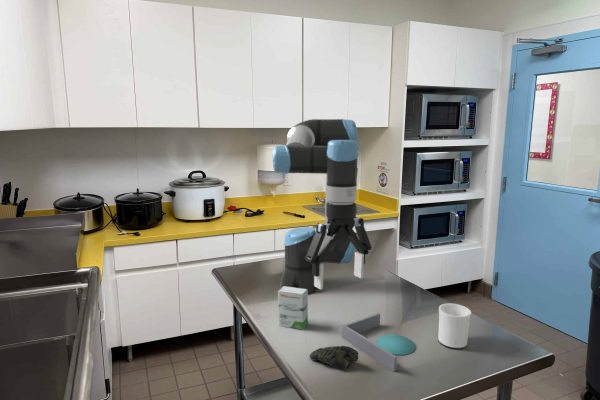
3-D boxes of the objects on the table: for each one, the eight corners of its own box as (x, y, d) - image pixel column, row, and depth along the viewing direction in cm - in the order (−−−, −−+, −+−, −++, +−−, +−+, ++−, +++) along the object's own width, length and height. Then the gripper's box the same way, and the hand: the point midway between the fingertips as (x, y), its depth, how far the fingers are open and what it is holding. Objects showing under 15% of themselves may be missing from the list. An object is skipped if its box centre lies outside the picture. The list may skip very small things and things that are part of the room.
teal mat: (368, 342, 123) (368, 341, 123) (394, 331, 129) (394, 330, 129) (396, 359, 114) (396, 358, 114) (423, 347, 120) (423, 346, 120)
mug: (465, 353, 117) (468, 319, 115) (433, 344, 122) (435, 312, 120) (472, 337, 126) (475, 305, 124) (442, 329, 131) (444, 298, 129)
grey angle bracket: (342, 337, 125) (342, 325, 125) (377, 324, 134) (378, 312, 133) (393, 371, 109) (394, 357, 108) (431, 354, 117) (432, 341, 116)
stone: (313, 351, 118) (313, 334, 117) (360, 360, 114) (360, 342, 113) (306, 365, 112) (306, 346, 111) (355, 374, 108) (355, 355, 107)
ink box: (308, 323, 134) (308, 288, 132) (303, 330, 130) (303, 294, 127) (283, 319, 137) (283, 284, 135) (277, 325, 132) (277, 290, 130)
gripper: (310, 210, 95) (309, 297, 99) (387, 199, 109) (383, 276, 113) (291, 204, 101) (291, 287, 105) (366, 195, 115) (364, 268, 119)
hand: (339, 282), depth 109 cm, fingers open, 13 cm apart
